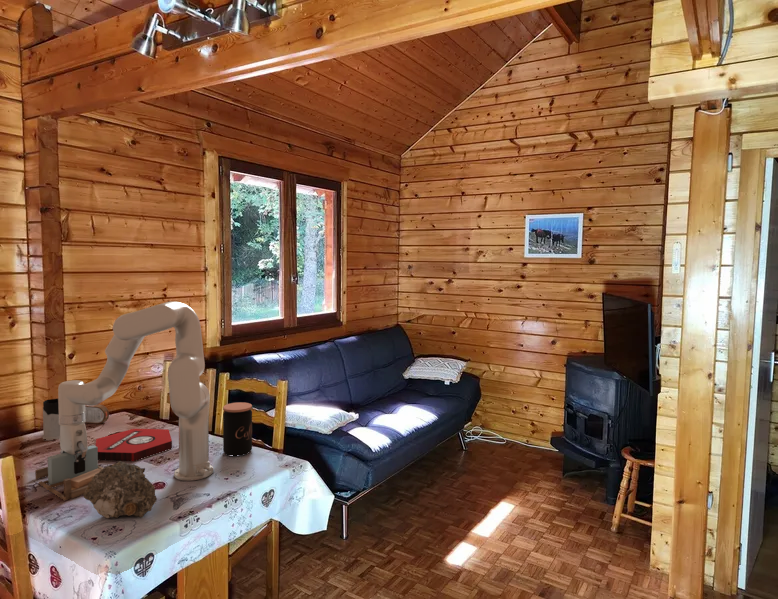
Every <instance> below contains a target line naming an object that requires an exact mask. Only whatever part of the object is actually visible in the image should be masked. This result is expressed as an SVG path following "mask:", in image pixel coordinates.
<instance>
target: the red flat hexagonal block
mask: <svg viewBox="0 0 778 599" xmlns="http://www.w3.org/2000/svg"><path fill="white" fill-rule="evenodd" d="M170 433H171V432H170V430H169V429H164V428H162V429H161V428H160V429H159V428H158V429H157V428H131V429H127V430H124V431H119V432H116V433H114V434H110V435H109V434H108V435H106V436H102V437H98V438H96V439H95V445H94V446H96V447H98V461H110V462H111V461H112V462H119V461H121V462H137V461H140V460H142V459H141V458H143V459H145V458H144V457H146V458H148V457H147V456H149V457H151V456H150V455H152V456H154V455H153V454H155V455H157V454H156V453H158V454H160V453H159V452H161V453H163V452H162V451H164V452H166V451H165V450H167V451H169V450H168V449H170V450H172V449H173V440H172V436H171V434H170ZM171 448H172V449H171ZM139 459H140V460H139ZM136 460H137V461H136Z"/></svg>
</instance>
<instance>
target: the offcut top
mask: <svg viewBox="0 0 778 599" xmlns="http://www.w3.org/2000/svg"><path fill="white" fill-rule="evenodd" d="M101 470H102V469H95V470H92V471H90V472H87V473H85V474H82V475H80V476H77V477H74V478H72V479H71V487H72V488H76V489H77V488H80V487H83V486H86V485H88V483H89V482H91V480H92V478H93V477H94V475H95V474H97V473H99V472H100V471H101Z"/></svg>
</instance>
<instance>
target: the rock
mask: <svg viewBox="0 0 778 599" xmlns="http://www.w3.org/2000/svg"><path fill="white" fill-rule="evenodd" d="M145 471H146V468H145V467H144V468H142V467H141V466H138V465H135V463H134V464H133V463H132V464H130V463H127V462H126V461H116V462H114V463H113V464H109V465H106V466H105V467H103V469H102V470H101V471H100V472H99V473H97V474H95V475H94V477H93V478H92V480H91V482H89V483H88V487H87V489H86V491H85V493H84V494H83V495H82V496H83V498H84V500H86V501H89V502H90V503H91V504H92V505H93V508H94V509H95V510H96V511H97V513H98V514H99V515H100V516H101V517H104V518H105V519H110V518H116V519H117V518H119V517H122V516H128V517H130V516H135V517H139V518H143V517H144V516H145V514H147V513H148V512H151V511H152V509H153V506H155V504H156V502H157V500H158V498H157V495H156V489H155V485H153V482H151V481H150V480H149V479H148V478H147V477H146V474H145Z"/></svg>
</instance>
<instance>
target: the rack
mask: <svg viewBox="0 0 778 599" xmlns="http://www.w3.org/2000/svg"><path fill="white" fill-rule="evenodd" d="M103 468H104V467H103V466H100V465H99V464H98V469H103ZM34 470H35V471H34V472H35V474H34V475H35V480H39V479H38V478H40V479H43V478H42V477H44V478H46V477H45V476H47V477H48V466H46V467H42V468H38V469H34ZM46 483H47V484H46ZM39 484H40V485H39ZM38 485H39V486H41V487H42V486H43V489H45V488H46V489H45V490H47V491H48V490H49V491H48V492H50V493H51V492H52V493H51V494H53V493H54V494H55V495H54V494H53V495H54V496H56V495H57V496H58V498H59V497H60V498H59V499H61V500H62V499H63V500H62V501H64V502H65V500H66V501H69V500H72V499H74V498H77V497H80V496H84V495H83V494H84V493H85V491H86V489H87V487H88V485H86V486H83V487H80V488H77V489H73V490H71V479H70V478H68V479H64V480H63V481H62V482H59V483H55V484H52V485H49V484H48V479H47V480H44V481H42V480H41V481H39V482H38ZM59 485H60V486H63V493H61V492H59V491H58V490H56V489H55V488H56V487H59ZM55 486H56V487H55ZM52 487H53V488H52ZM57 496H56V497H57ZM68 499H69V500H68Z"/></svg>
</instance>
